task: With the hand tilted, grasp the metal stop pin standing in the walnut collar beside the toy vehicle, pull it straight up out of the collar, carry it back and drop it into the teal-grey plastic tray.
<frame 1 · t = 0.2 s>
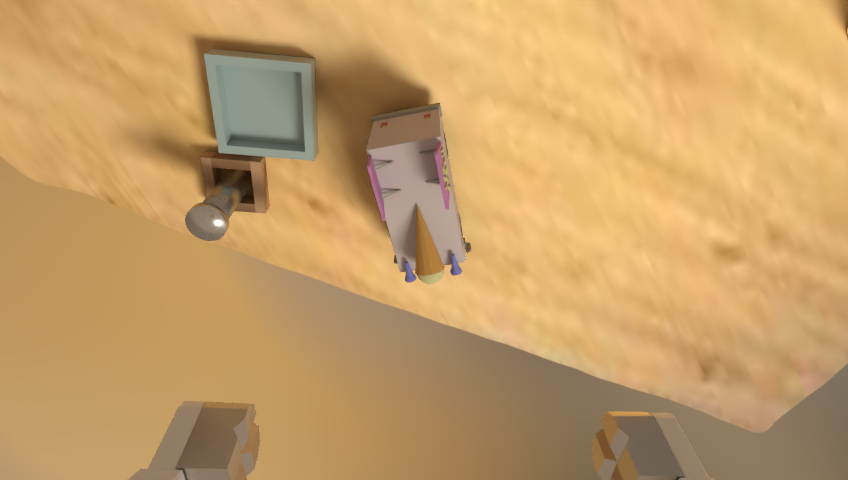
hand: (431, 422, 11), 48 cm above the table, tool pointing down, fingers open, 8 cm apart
tray: (268, 103, 55), on the table
collar: (239, 179, 61), on the table
stop pin: (223, 199, 56), in the collar
toy vehicle: (422, 178, 61), on the table
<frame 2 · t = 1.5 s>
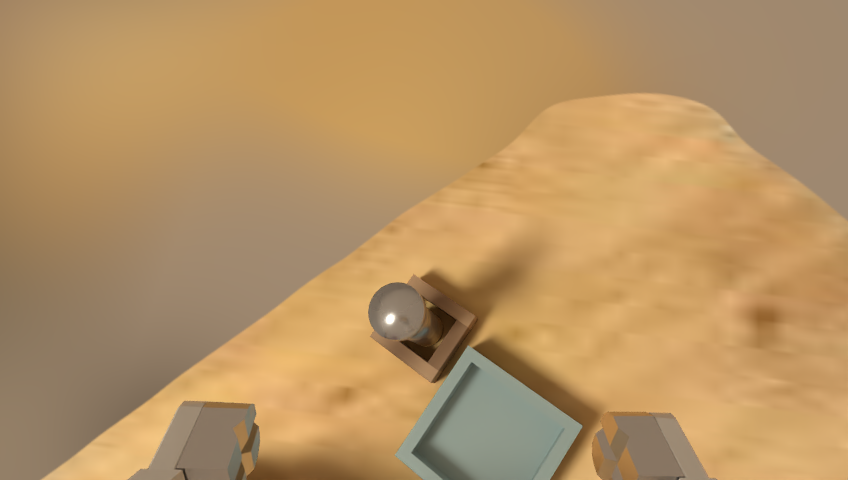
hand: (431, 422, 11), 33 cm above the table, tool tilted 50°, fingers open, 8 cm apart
tray: (488, 438, 42), on the table
collar: (426, 329, 46), on the table
stop pin: (413, 321, 40), in the collar
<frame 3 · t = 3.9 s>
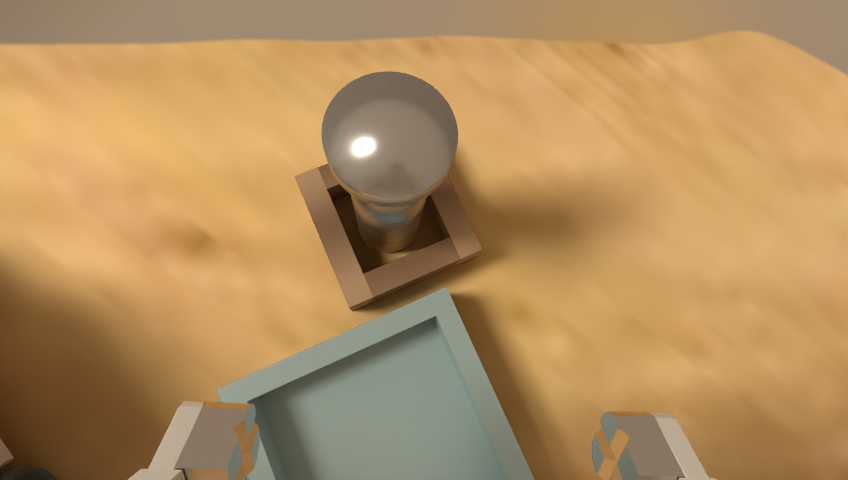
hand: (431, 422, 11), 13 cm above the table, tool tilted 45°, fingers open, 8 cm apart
tray: (384, 444, 23), on the table
collar: (388, 223, 26), on the table
stop pin: (389, 189, 20), in the collar
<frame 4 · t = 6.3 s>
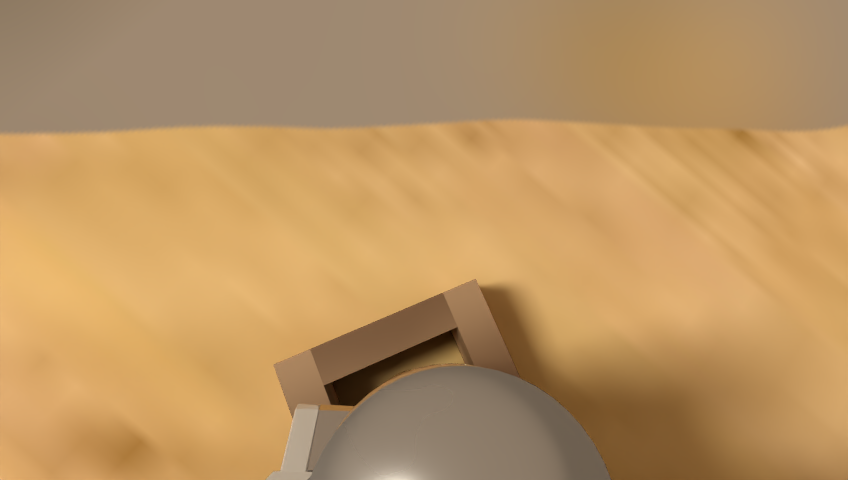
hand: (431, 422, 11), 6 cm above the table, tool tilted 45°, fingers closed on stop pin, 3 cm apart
collar: (417, 416, 17), on the table
stop pin: (429, 448, 12), in the collar, touching gripper
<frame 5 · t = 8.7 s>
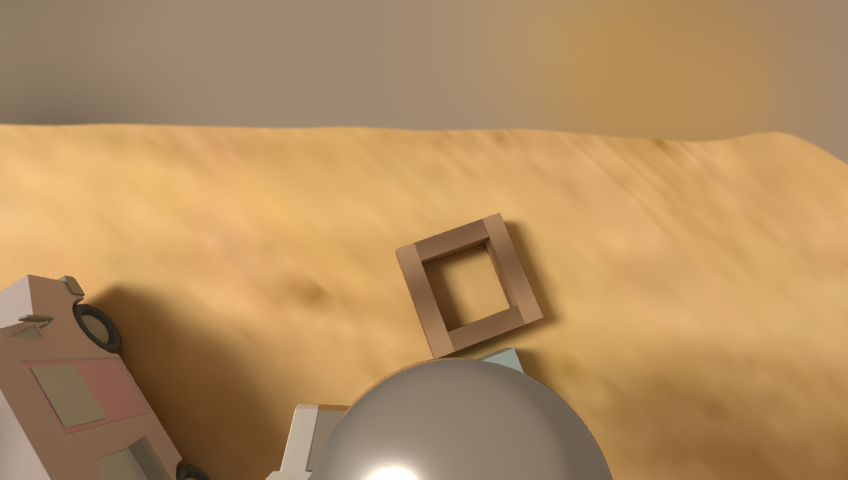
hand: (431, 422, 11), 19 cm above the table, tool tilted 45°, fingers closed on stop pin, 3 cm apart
tray: (456, 468, 29), on the table
collar: (464, 287, 31), on the table
stop pin: (429, 443, 12), point 19 cm above the table, touching gripper
toy vehicle: (118, 451, 29), on the table
when the fingers open (8 cm above the table, at t = 11.0 s): stop pin drops 2 cm, resting on tray.
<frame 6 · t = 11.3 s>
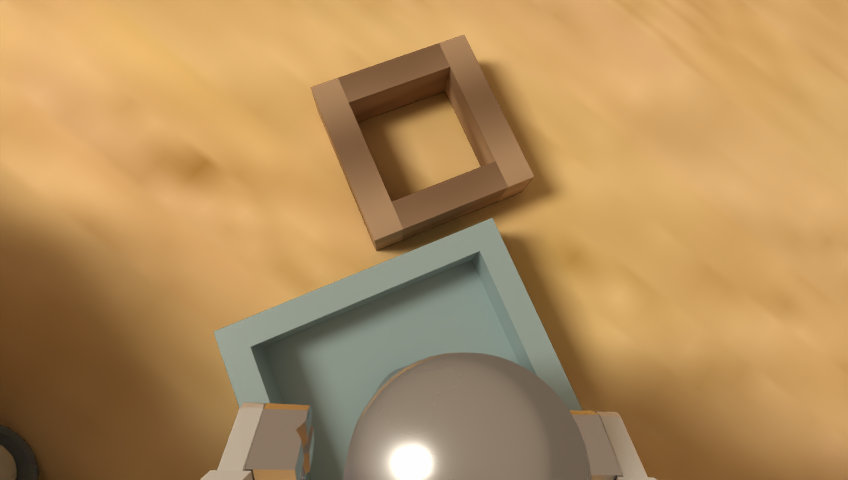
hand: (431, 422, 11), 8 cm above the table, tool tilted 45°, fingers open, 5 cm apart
tray: (414, 407, 19), on the table
collar: (419, 151, 22), on the table
stop pin: (430, 430, 13), in the tray, point 6 cm above the table
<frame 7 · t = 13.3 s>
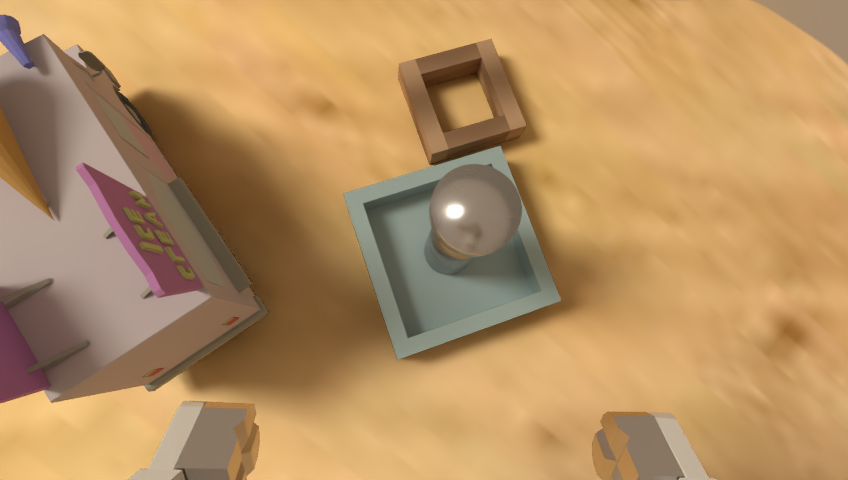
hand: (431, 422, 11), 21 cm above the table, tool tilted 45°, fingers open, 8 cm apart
tray: (446, 253, 33), on the table
collar: (458, 107, 36), on the table
stop pin: (459, 233, 27), in the tray, point 6 cm above the table
toy vehicle: (148, 228, 32), on the table
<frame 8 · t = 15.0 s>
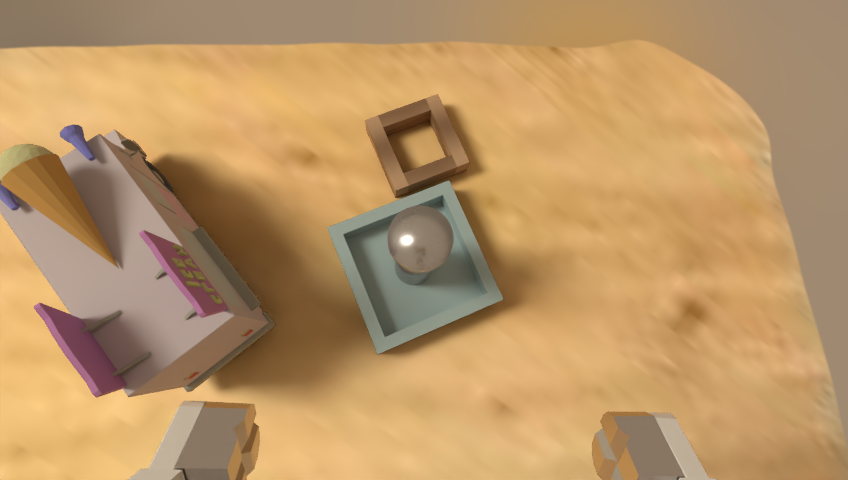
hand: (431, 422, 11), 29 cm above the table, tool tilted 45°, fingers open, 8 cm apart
tray: (413, 268, 42), on the table
collar: (416, 150, 44), on the table
stop pin: (416, 254, 36), in the tray, point 6 cm above the table
toy vehicle: (175, 265, 41), on the table
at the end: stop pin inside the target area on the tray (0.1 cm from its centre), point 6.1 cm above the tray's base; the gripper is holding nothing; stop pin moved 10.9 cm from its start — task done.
